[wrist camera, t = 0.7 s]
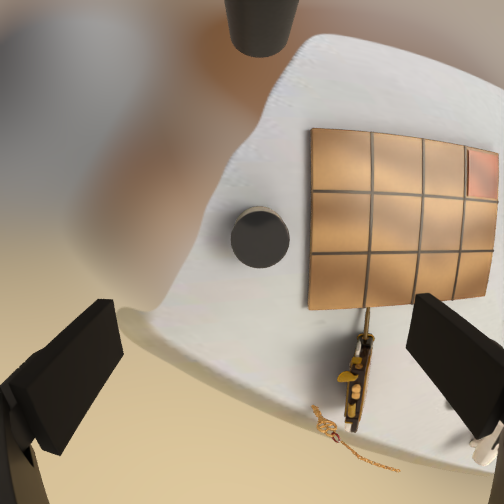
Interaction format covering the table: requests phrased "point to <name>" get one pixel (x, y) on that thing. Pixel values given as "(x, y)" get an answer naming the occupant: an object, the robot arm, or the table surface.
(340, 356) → the table surface
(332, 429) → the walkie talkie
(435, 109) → the table surface
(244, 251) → the dark grey short cylinder
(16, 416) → the robot arm
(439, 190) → the game board
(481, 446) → the white lumpy sculpture
